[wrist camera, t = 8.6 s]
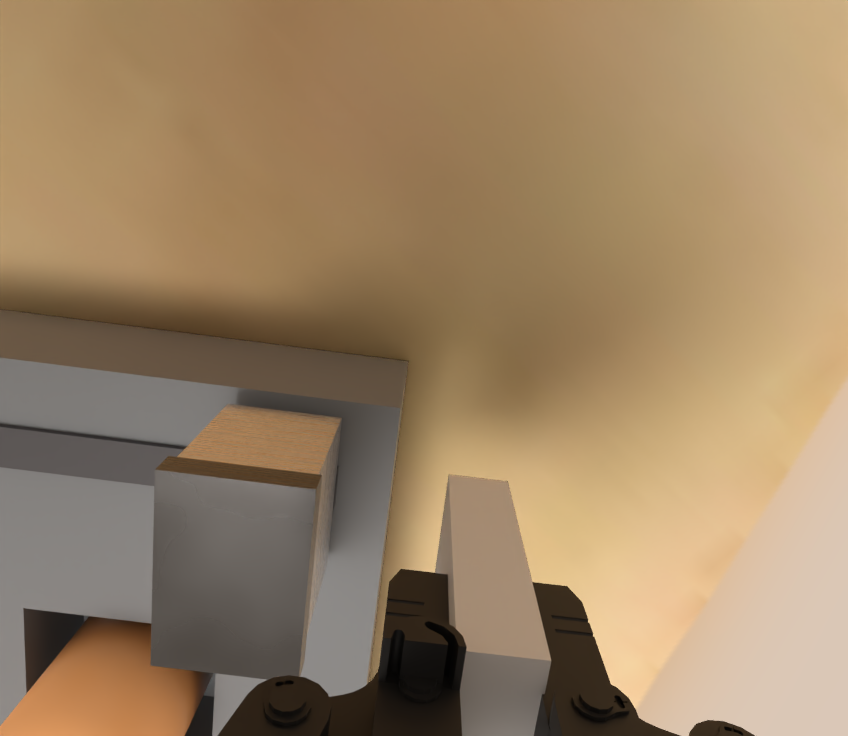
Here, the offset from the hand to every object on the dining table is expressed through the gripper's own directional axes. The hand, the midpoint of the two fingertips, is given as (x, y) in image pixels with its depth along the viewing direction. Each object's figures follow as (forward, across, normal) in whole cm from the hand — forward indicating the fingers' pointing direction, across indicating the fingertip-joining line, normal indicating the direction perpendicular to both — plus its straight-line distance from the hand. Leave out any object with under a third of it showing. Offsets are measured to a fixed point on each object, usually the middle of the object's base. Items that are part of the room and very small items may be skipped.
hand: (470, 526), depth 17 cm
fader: (+1, -5, 0) cm, 5 cm away
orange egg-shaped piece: (+5, -10, -8) cm, 13 cm away
